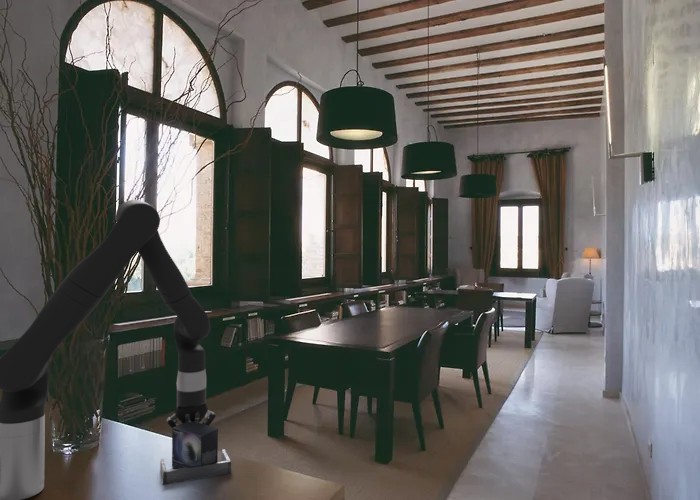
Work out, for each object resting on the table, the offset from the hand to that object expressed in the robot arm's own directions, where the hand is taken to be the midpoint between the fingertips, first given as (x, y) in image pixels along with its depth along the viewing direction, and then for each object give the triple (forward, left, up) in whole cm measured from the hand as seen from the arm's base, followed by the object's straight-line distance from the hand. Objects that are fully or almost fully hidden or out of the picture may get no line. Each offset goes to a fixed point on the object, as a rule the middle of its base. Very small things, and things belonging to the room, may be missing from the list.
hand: (191, 449), depth 135 cm
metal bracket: (0, -9, -2) cm, 10 cm away
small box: (0, -7, -2) cm, 7 cm away
